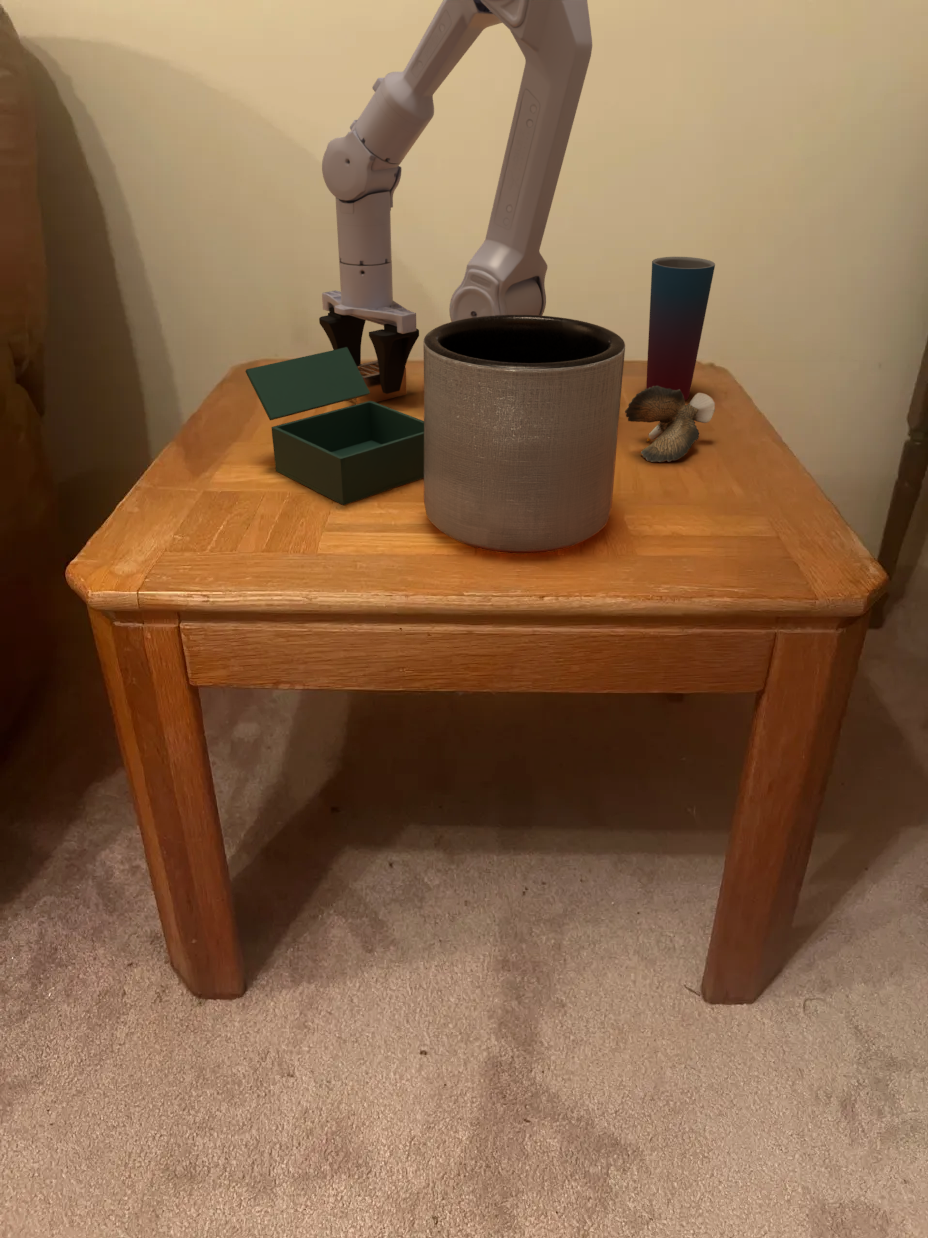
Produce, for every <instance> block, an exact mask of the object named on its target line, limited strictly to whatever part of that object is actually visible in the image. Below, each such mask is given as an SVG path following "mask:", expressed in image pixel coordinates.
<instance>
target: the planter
mask: <svg viewBox="0 0 928 1238" xmlns="http://www.w3.org/2000/svg"><path fill="white" fill-rule="evenodd" d="M422 342H423V421H424V478H423V503H424V510H425V514H426V516H427V519H428V520H429V521H430V522H431V524H432V525H434V527H436V528H437V529H438V530H439V531H440V532H441V533H442V534H445V535H446V536H448V537H450V538H451V539H452V540H455V541H457V542H459V543H461V544H463V545H465V546H469V547H472V548H476V549H478V550H483V551H488V552H494V553H501V554H503V553H504V554H511V555H512V554H515V555H526V554H527V555H528V554H544V553H550V552H555V551H560V550H564V549H568V548H571V547H574V546H576V545H578V544H580V543H582V542H585V541H587V540H588V539H590V538H592V537H593V536H595V535H596V534H598V532H600V531H602V529H603V528H604V527H605V526H606V525H607V523H608V522H609V519H610V515H611V511H612V506H613V497H614V486H615V472H616V461H617V460H616V458H617V457H616V456H617V447H618V436H619V435H618V434H619V432H618V431H619V422H620V409H621V397H622V389H623V387H622V386H623V375H624V366H625V365H624V364H625V355H626V354H625V353H626V343H625V341H624V339H623V338H622V337H621V336H620V335H619V334H617V333H616V332H615V331H612V330H611V329H608V328H607V327H604V326H600V325H598V324H594V323H591V322H588V321H583V320H579V319H573V318H567V317H559V316H551V315H542V316H539V315H493V316H482V317H474V318H467V319H462V320H457V321H453V322H451V321H450V322H447V323H444V324H441V325H439V326H436V327H434V328H433V329H431V330H430V331H428V333H426V335H425V336H424V337H423V341H422Z"/></svg>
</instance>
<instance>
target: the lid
mask: <svg viewBox="0 0 928 1238" xmlns="http://www.w3.org/2000/svg"><path fill="white" fill-rule="evenodd" d="M244 372H245V374H246V376H247V377H248V380H249V381H250V383H251V386H252V388H253V390H254V392H255V394H256V395H257V398H258V400H259V402H260V404H261V406H262V408H263V410H264V411H265V414H266V416H267V417H268V420H269V421H274V420H278V419H281V418H286V417H289V416H293V415H297V414H301V413H305V412H308V411H312V410H315V409H319V408H324V407H327V406H331V405H335V404H339V403H343V402H346V401H350V400H354V399H355V400H356V398H358V397H362V396H366V395H369V394H370V391H369V389H368V387H367V385H366V383H365V382H364V380H363V378H362V376H361V374H360V372H359V370H358V368H357V366H356V364H355V362H354V360H353V358H352V356H351V354H350V352H349V350H348V348H347V347H346V348H341V349H336V350H332V349H331V350H328V351H323V352H319V353H314V354H310V355H309V354H308V355H305V356H301V357H296V358H292V359H287V360H282V361H278V362H273V363H268V364H264V365H260V366H255V367H251V368H246V370H245V371H244Z"/></svg>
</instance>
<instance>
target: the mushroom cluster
mask: <svg viewBox="0 0 928 1238" xmlns="http://www.w3.org/2000/svg"><path fill="white" fill-rule="evenodd" d="M715 405H716V402H715V401H714V399H713V397H712V396H710V395H708V394H706V393H704V392H697V393H695V394H694V396H693V397H692V399H691V400H690V401H689V402H688V403H687V404H686V400H685V399H684V396H683V394H682V392H681V390H680V389H679V390H672V389H670V388H669V389H665V388H664V387H663V388H662V387H660V386H652V388H651V387H649V389H646V388H645V389H644V390H641V391H640V392H637V393H636V394H635V396H634V397H633V398H632V399H631V401H630V402H629V403H628V404H627V408H626V409H625V411H624V413H625V418H627V421H628V422H632V423H633V422H634V423H635V422H636V423H640V422H641V423H657V422H659V423H658V424H657V425H656V426H655V427H654V428H653V429H652V430H651V431H650V432H649V433H648V437H647V438H646V442H647V443H649V442H650V441H652V442H651V443H650V444H649V445H647V446H646V447H645V448H644V449H642V450H641V451H640V454H641V455H642V458H644V459H645V460H646V461H647V462H650V463H657V462H659V463H664V462H666V461H667V462H668V463H670V462H672V461H678V460H680V459H681V458H683V457H685V455H686V454H688V452H689V450H690V449H691V448H692V446H693V445H694V443H695V442H697V441H698V440H699V438H700V431H699V429H698V427H697V425H696V422H697V423H703V424H709V422H710V421H711V420H712V418H713V416H714V414H715V411H716V406H715Z"/></svg>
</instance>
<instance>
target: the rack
mask: <svg viewBox="0 0 928 1238" xmlns="http://www.w3.org/2000/svg"><path fill="white" fill-rule="evenodd" d="M356 366H357V368H358V370H359V372H360V374H361V376H362V378H363V380H364V382H365V383H366V385H367V387H368V389H369V391H370V394H369V395H366V396H362V397H358V398H355V405H356V404H360V403H363V402H367V401H373V402H376V403H380V402H384V401H386V400H391V399H395V398H398V397H402V396H406V395H407V393H408V392H407V367H406V366H405V370H404V374H403V378H402V383H401V387H400V391H396V392H393V393H389V394H385V393H383V391H382V388H381V383H380V374H379V365H378V360H377V359H376V360H372V361H368V362H364V363H361V364H359V365H356Z"/></svg>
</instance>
